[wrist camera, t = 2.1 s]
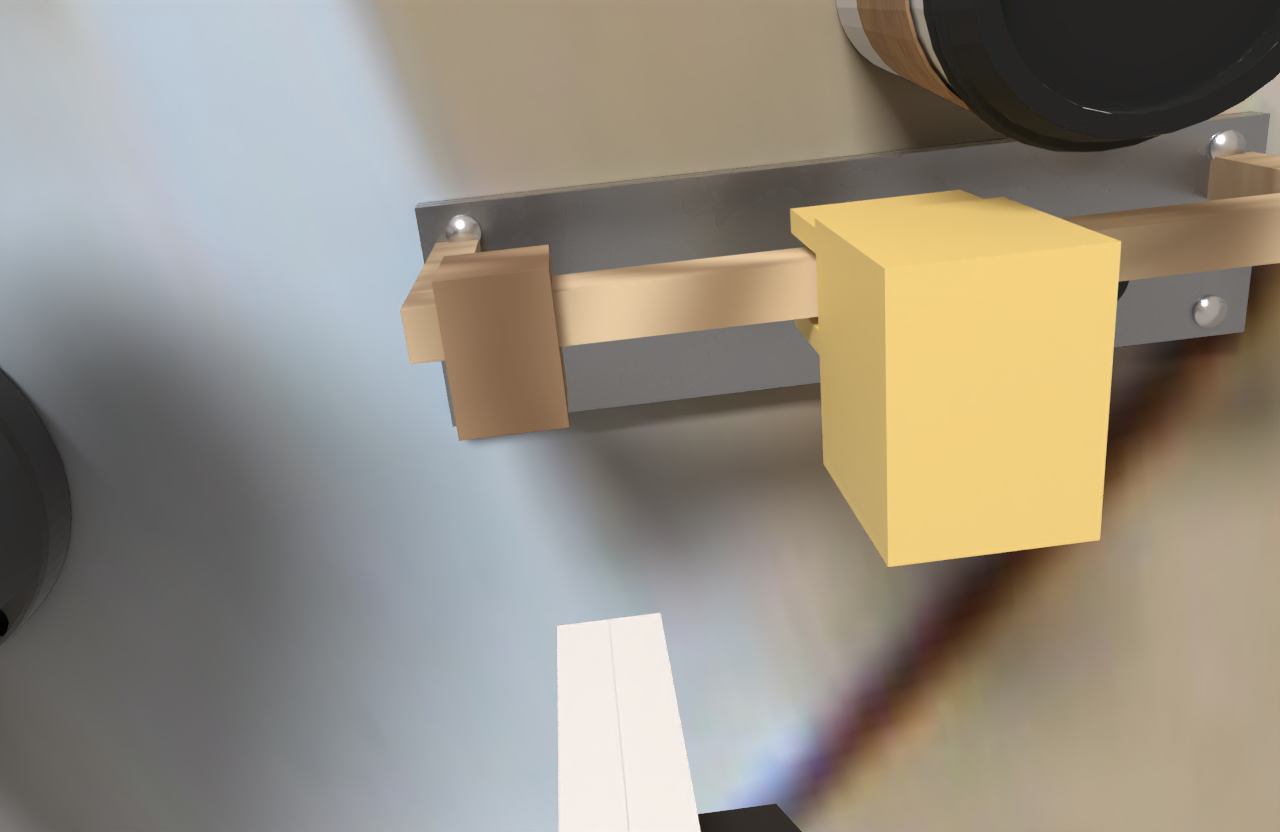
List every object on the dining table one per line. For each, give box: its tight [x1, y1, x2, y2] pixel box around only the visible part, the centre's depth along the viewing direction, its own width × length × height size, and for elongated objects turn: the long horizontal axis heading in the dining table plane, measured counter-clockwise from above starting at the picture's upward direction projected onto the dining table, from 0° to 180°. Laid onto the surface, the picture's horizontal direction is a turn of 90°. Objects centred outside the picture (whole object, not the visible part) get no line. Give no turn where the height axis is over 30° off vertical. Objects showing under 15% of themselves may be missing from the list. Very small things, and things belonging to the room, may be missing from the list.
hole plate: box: [415, 112, 1270, 426], centre depth 37 cm, size 30×8×1 cm, turn 96°
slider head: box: [790, 190, 1121, 567], centre depth 29 cm, size 5×7×15 cm
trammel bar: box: [400, 152, 1280, 441], centre depth 32 cm, size 29×5×10 cm, turn 96°
